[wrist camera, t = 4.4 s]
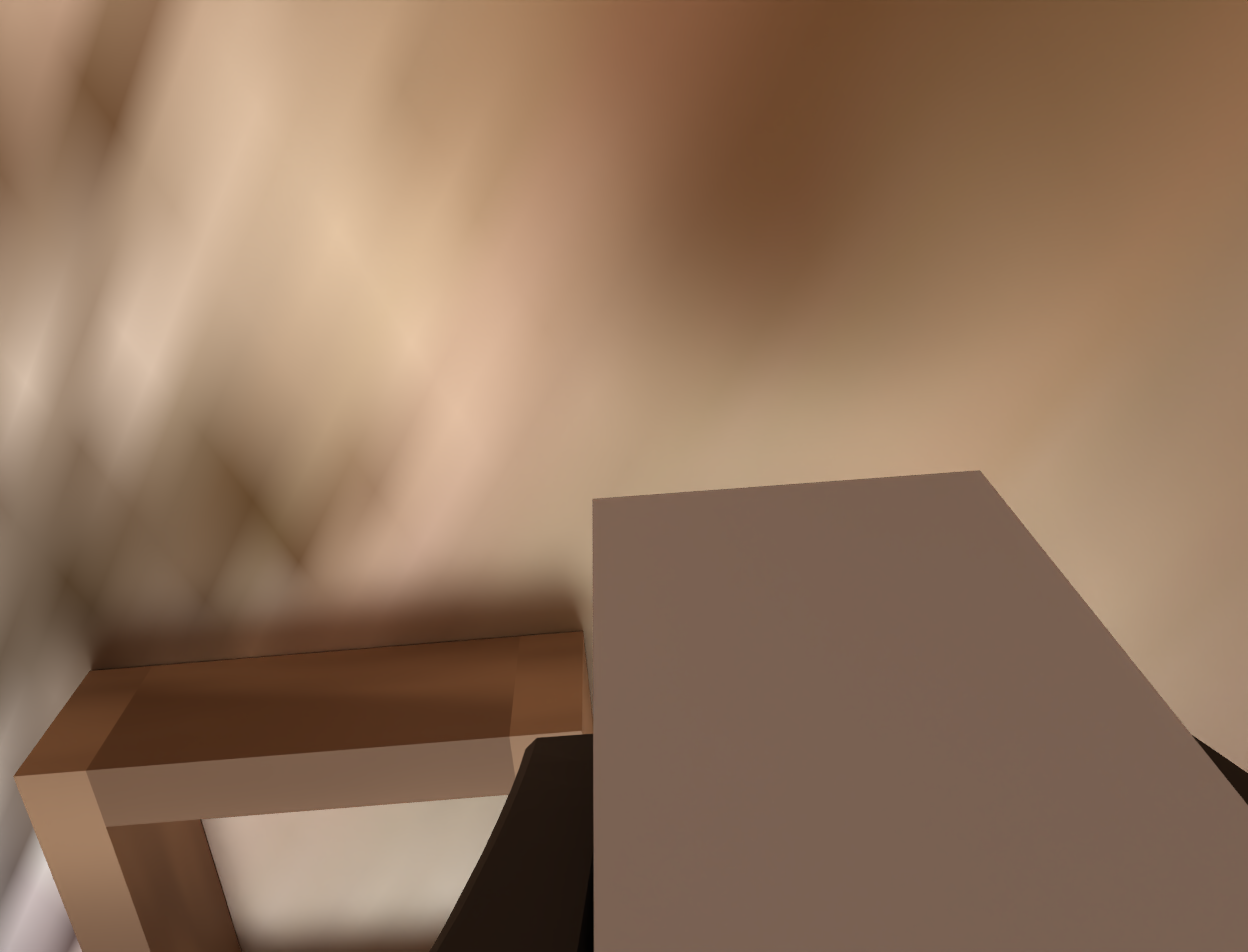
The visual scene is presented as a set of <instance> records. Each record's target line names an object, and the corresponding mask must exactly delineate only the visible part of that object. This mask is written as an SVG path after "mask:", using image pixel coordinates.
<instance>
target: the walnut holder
mask: <svg viewBox="0 0 1248 952" xmlns="http://www.w3.org/2000/svg"><path fill="white" fill-rule="evenodd" d="M581 734H593V718H592V709H591V700H590V690H589V681H588V672H587V663H586V654H585V644H584V635H583V631H578V632H565V633H553V634H541V635H528V636H516V637H504V638H491V639H479V640H467V641H454V642H442V643H429V644H417V645H405V646H392V647H380V648H368V649H355V650H343V651H331V652H318V653H306V654H294V655H281V656H269V657H256V658H244V659H232V660H219V661H207V662H195V663H182V664H170V665H158V666H145V667H133V668H121V669H108V670H96V671H89V673H88V674H87V676H86V677H85V678H84V680H83V681H82V682H81V684H80V685H79V687H78V688H77V689H76V691H75V692H74V693H73V695H72V696H71V698H70V699H69V700H68V702H67V703H66V705H65V706H64V707H63V709H62V710H61V711H60V713H59V714H58V716H57V717H56V718H55V720H54V721H53V722H52V724H51V725H50V727H49V728H48V729H47V731H46V732H45V734H44V735H43V736H42V738H41V739H40V740H39V742H38V743H37V745H36V746H35V747H34V749H33V750H32V751H31V753H30V754H29V756H28V757H27V758H26V760H25V761H24V763H23V764H22V765H21V767H20V768H19V769H18V771H17V772H16V774H15V775H14V776H13V777H14V779H15V782H16V784H17V787H18V790H19V792H20V795H21V797H22V800H23V802H24V805H25V807H26V810H27V812H28V815H29V817H30V820H31V823H32V825H33V828H34V830H35V833H36V835H37V838H38V840H39V843H40V845H41V848H42V850H43V853H44V856H45V858H46V861H47V863H48V866H49V868H50V871H51V873H52V876H53V878H54V881H55V883H56V886H57V889H58V891H59V894H60V896H61V899H62V901H63V904H64V906H65V909H66V911H67V914H68V916H69V919H70V922H71V924H72V927H73V929H74V932H75V934H76V937H77V939H78V942H79V944H80V947H81V949H82V952H241V950H240V947H239V943H238V940H237V937H236V934H235V930H234V927H233V924H232V921H231V918H230V914H229V911H228V908H227V905H226V901H225V898H224V895H223V892H222V888H221V885H220V882H219V879H218V876H217V872H216V869H215V866H214V863H213V859H212V856H211V853H210V850H209V846H208V843H207V840H206V837H205V833H204V830H203V827H202V824H201V821H200V819H211V818H223V817H235V816H248V815H260V814H273V813H285V812H298V811H310V810H323V809H335V808H348V807H360V806H373V805H385V804H398V803H410V802H423V801H435V800H448V799H460V798H473V797H485V796H498V795H509V793H510V791H511V788H512V786H513V783H514V780H515V778H516V775H517V773H518V770H519V767H520V764H521V761H522V758H523V755H524V752H525V749H526V748H527V747H528V746H529V745H530V744H531V743H532V742H533V741H534V740H535V739H536V738H540V737H553V736H567V735H581Z"/></svg>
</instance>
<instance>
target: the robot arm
mask: <svg viewBox="0 0 1248 952" xmlns="http://www.w3.org/2000/svg"><path fill="white" fill-rule="evenodd" d="M1192 736H1193V735H1192ZM1193 737H1194V736H1193ZM1194 739H1195V740H1196V741H1197V742H1198V744H1199V745H1200V746H1201V747H1202V749H1203V750H1204V751H1205V752H1206V754H1207V755H1208V756H1209V757H1210V759H1211V760H1212V761H1213V762H1214V764H1215V765H1216V766H1217V767H1218V769H1219V770H1220V771H1221V772H1222V774H1223V775H1224V776H1225V777H1226V779H1227V780H1228V781H1229V782H1230V784H1231V785H1232V786H1233V787H1234V789H1235V790H1236V791H1237V792H1238V794H1239V795H1240V796H1241V797H1242V799H1243V800H1244V801H1245V802H1246V804H1247V805H1248V773H1247V772H1245V771H1244V770H1242V769H1241V768H1239V767H1238V766H1236V765H1235V764H1234V763H1232V762H1231V761H1229V760H1228V759H1226V758H1225V757H1223V756H1222V755H1220V754H1219V753H1217V752H1216V751H1215V750H1213V749H1212V748H1210V747H1209V746H1207V745H1206V744H1204V743H1203V742H1201V741H1200V740H1198V739H1197V738H1196V737H1194ZM430 952H594V812H593V734H581V735H567V736H553V737H540V738H536V739H535V740H534V741H533V742H532V743H531V744H530V745H529V746H528V747H527V748H526V749H525V752H524V755H523V758H522V761H521V764H520V767H519V770H518V773H517V775H516V778H515V780H514V783H513V786H512V788H511V791H510V793H509V795H508V798H507V800H506V803H505V805H504V807H503V810H502V812H501V814H500V816H499V819H498V821H497V823H496V825H495V827H494V829H493V831H492V834H491V836H490V838H489V840H488V842H487V844H486V847H485V849H484V851H483V853H482V855H481V857H480V859H479V861H478V863H477V865H476V866H475V868H474V870H473V872H472V874H471V876H470V878H469V880H468V882H467V884H466V886H465V888H464V890H463V892H462V893H461V895H460V897H459V899H458V901H457V903H456V905H455V907H454V909H453V911H452V913H451V915H450V917H449V918H448V920H447V922H446V924H445V926H444V928H443V929H442V931H441V933H440V935H439V936H438V938H437V940H436V942H435V943H434V945H433V947H432V948H431V950H430Z"/></svg>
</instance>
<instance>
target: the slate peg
mask: <svg viewBox="0 0 1248 952" xmlns="http://www.w3.org/2000/svg"><path fill="white" fill-rule="evenodd" d="M593 812H594V952H1248V805H1247V804H1246V802H1245V801H1244V800H1243V799H1242V797H1241V796H1240V795H1239V794H1238V792H1237V791H1236V790H1235V789H1234V787H1233V786H1232V785H1231V784H1230V782H1229V781H1228V780H1227V779H1226V777H1225V776H1224V775H1223V774H1222V772H1221V771H1220V770H1219V769H1218V767H1217V766H1216V765H1215V764H1214V762H1213V761H1212V760H1211V759H1210V757H1209V756H1208V755H1207V754H1206V752H1205V751H1204V750H1203V749H1202V747H1201V746H1200V745H1199V744H1198V742H1197V741H1196V740H1195V739H1194V737H1193V736H1192V735H1191V734H1190V732H1189V731H1188V730H1187V729H1186V727H1185V726H1184V725H1183V724H1182V722H1181V721H1180V720H1179V719H1178V717H1177V716H1176V715H1175V714H1174V712H1173V711H1172V710H1171V709H1170V707H1169V706H1168V705H1167V704H1166V702H1165V701H1164V700H1163V699H1162V697H1161V696H1160V695H1159V694H1158V692H1157V691H1156V690H1155V689H1154V687H1153V686H1152V685H1151V684H1150V682H1149V681H1148V680H1147V679H1146V677H1145V676H1144V675H1143V674H1142V672H1141V671H1140V670H1139V669H1138V667H1137V666H1136V665H1135V664H1134V662H1133V661H1132V660H1131V659H1130V657H1129V656H1128V655H1127V654H1126V652H1125V651H1124V650H1123V649H1122V647H1121V646H1120V645H1119V644H1118V642H1117V641H1116V640H1115V639H1114V637H1113V636H1112V635H1111V634H1110V632H1109V631H1108V630H1107V629H1106V627H1105V626H1104V625H1103V624H1102V622H1101V621H1100V620H1099V619H1098V617H1097V616H1096V615H1095V614H1094V612H1093V611H1092V610H1091V609H1090V607H1089V606H1088V605H1087V604H1086V602H1085V601H1084V600H1083V599H1082V597H1081V596H1080V595H1079V594H1078V592H1077V591H1076V590H1075V589H1074V587H1073V586H1072V585H1071V584H1070V582H1069V581H1068V580H1067V579H1066V577H1065V576H1064V575H1063V574H1062V572H1061V571H1060V570H1059V569H1058V567H1057V566H1056V565H1055V564H1054V562H1053V561H1052V560H1051V559H1050V557H1049V556H1048V555H1047V554H1046V552H1045V551H1044V550H1043V549H1042V547H1041V546H1040V545H1039V544H1038V542H1037V541H1036V540H1035V539H1034V537H1033V536H1032V535H1031V534H1030V532H1029V531H1028V530H1027V529H1026V527H1025V526H1024V525H1023V524H1022V522H1021V521H1020V520H1019V519H1018V517H1017V516H1016V515H1015V514H1014V512H1013V511H1012V510H1011V509H1010V507H1009V506H1008V505H1007V504H1006V502H1005V501H1004V500H1003V499H1002V497H1001V496H1000V495H999V494H998V492H997V491H996V490H995V489H994V487H993V486H992V485H991V484H990V482H989V481H988V480H987V479H986V477H985V476H984V475H983V474H982V472H981V471H980V470H979V471H966V472H952V473H939V474H925V475H911V476H898V477H884V478H871V479H857V480H843V481H830V482H816V483H803V484H789V485H776V486H762V487H748V488H735V489H721V490H708V491H694V492H680V493H667V494H653V495H640V496H626V497H613V498H599V499H593Z"/></svg>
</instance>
